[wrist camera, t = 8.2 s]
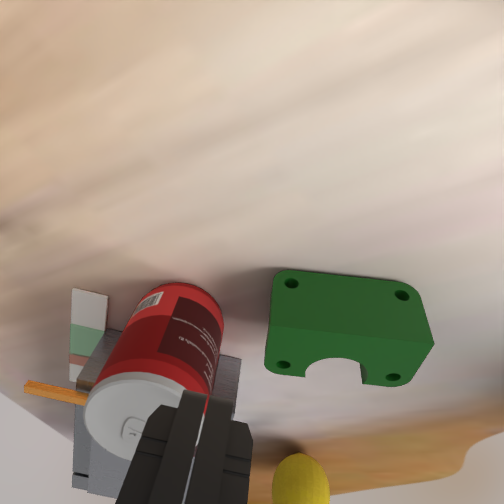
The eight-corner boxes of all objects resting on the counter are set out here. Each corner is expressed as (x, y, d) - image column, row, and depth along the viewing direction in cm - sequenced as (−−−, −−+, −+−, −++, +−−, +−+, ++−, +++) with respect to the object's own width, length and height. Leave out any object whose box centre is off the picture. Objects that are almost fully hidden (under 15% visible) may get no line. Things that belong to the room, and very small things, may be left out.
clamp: (289, 289, 38) (242, 362, 32) (298, 242, 34) (247, 314, 28) (417, 344, 34) (392, 438, 28) (444, 298, 30) (422, 397, 24)
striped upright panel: (108, 296, 34) (106, 298, 34) (101, 385, 39) (99, 388, 39) (73, 287, 34) (71, 290, 34) (70, 378, 39) (68, 381, 39)
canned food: (131, 340, 36) (76, 449, 27) (145, 267, 33) (87, 365, 23) (212, 361, 37) (188, 476, 27) (235, 293, 33) (216, 398, 23)
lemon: (277, 471, 44) (276, 554, 37) (269, 437, 41) (266, 519, 34) (327, 468, 43) (336, 553, 36) (323, 434, 40) (331, 517, 33)
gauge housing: (241, 359, 36) (232, 430, 30) (211, 456, 43) (198, 531, 37) (106, 328, 36) (67, 393, 29) (98, 431, 43) (64, 503, 36)
